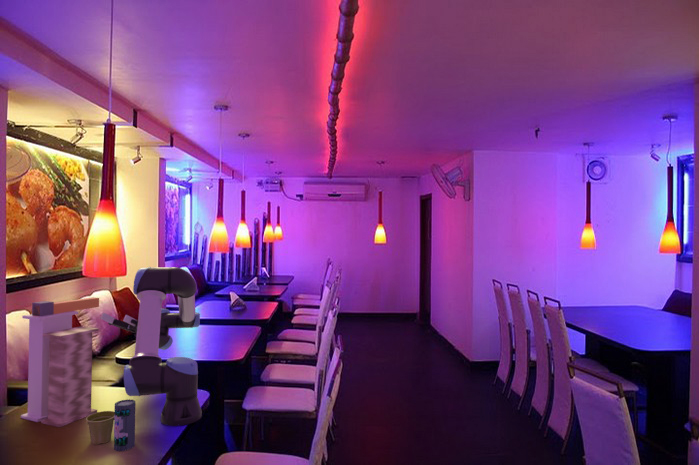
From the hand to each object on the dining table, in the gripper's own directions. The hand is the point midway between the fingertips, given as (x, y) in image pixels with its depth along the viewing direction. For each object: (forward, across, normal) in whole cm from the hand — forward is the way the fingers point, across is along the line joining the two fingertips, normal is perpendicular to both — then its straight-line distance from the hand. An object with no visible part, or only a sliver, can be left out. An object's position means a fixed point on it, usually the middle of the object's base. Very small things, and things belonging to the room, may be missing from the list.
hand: (113, 316), depth 196 cm
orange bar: (+12, +12, -3) cm, 17 cm away
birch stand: (-2, 0, -41) cm, 41 cm away
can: (+6, -40, -47) cm, 62 cm away
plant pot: (+6, -29, -46) cm, 55 cm away
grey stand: (-2, +12, -41) cm, 43 cm away
